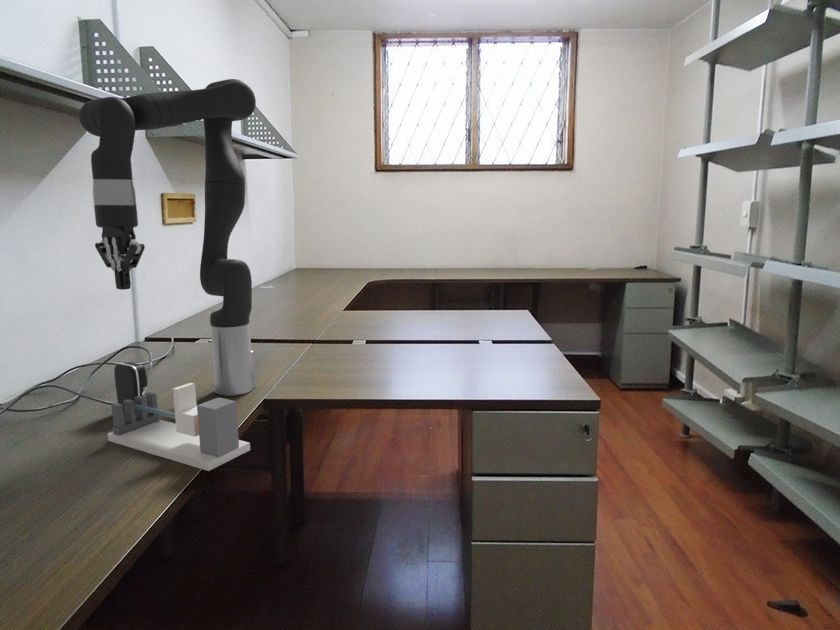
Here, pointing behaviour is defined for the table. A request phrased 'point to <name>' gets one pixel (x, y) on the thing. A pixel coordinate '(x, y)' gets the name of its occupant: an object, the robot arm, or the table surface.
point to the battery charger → (129, 381)
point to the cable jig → (163, 440)
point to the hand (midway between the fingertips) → (123, 288)
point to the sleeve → (186, 409)
